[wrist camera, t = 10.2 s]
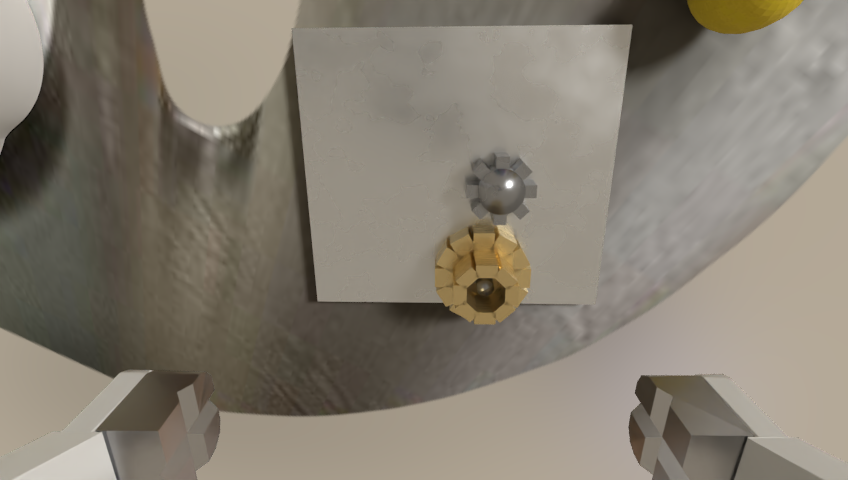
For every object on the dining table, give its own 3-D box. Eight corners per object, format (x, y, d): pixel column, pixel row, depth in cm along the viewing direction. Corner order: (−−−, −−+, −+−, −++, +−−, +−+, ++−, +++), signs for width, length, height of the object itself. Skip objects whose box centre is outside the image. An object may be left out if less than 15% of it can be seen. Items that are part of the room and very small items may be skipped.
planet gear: (435, 308, 37) (434, 339, 33) (435, 225, 35) (434, 247, 30) (523, 309, 37) (534, 341, 32) (529, 225, 34) (542, 247, 30)
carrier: (321, 294, 38) (305, 323, 34) (297, 29, 32) (273, 22, 27) (590, 297, 38) (610, 327, 33) (625, 26, 31) (656, 18, 26)
